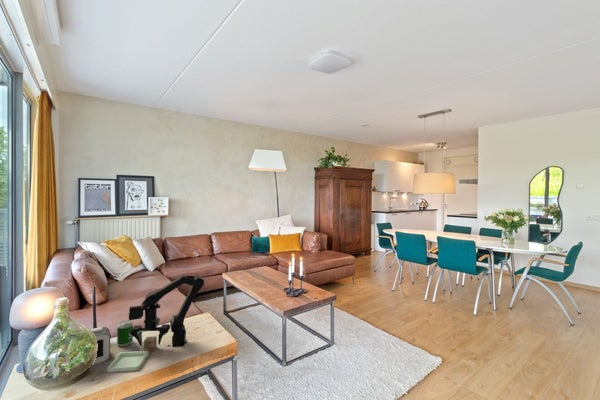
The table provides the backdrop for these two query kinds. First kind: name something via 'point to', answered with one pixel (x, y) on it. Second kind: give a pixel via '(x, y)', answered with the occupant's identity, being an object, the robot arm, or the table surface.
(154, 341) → the walnut block
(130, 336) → the soda can
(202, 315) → the table surface
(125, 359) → the tray
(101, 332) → the alarm clock
